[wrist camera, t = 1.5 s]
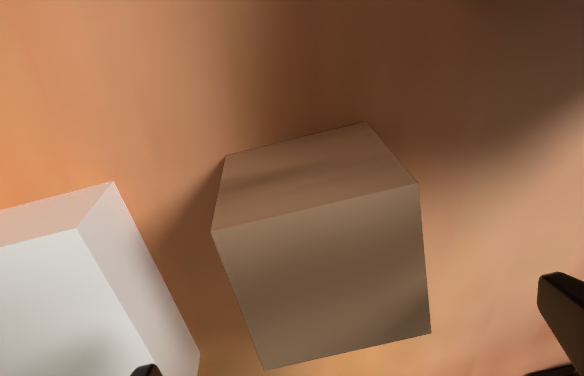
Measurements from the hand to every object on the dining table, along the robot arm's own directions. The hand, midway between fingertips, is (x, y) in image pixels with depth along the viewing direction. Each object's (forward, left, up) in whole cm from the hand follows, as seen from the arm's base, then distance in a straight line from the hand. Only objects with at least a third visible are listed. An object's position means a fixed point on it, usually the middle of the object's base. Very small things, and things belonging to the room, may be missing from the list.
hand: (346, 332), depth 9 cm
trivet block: (-2, +11, -7) cm, 13 cm away
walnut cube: (0, 0, -7) cm, 7 cm away
